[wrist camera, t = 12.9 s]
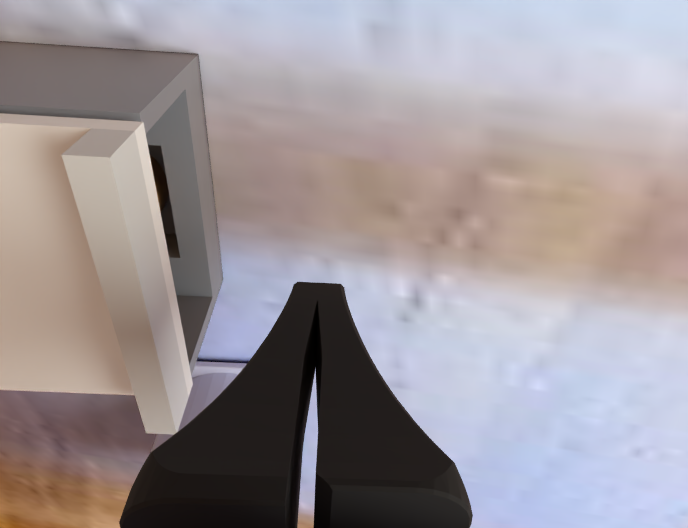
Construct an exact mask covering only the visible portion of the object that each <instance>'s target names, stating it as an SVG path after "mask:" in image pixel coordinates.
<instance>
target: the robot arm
mask: <svg viewBox="0 0 688 528" xmlns="http://www.w3.org/2000/svg"><path fill="white" fill-rule="evenodd" d="M315 367H316V389H317V413H318V446H317V463H316V484H315V509H314V528H470V525H471V522H472V516H473V515H472V510H471V505H470V502H469V498H468V495H467V492H466V489H465V487H464V484H463V481H462V479H461V476H460V474H459V472H458V470H457V467H456V465H455V463H454V462H453V461H452V460H451V459H450V458H449V457H448V456H447V455H446V454H445V453H444V452H443V451H442V450H441V449H440V448H439V447H438V446H437V445H436V444H435V443H434V442H433V441H432V440H431V439H430V438H429V437H428V436H427V435H426V433H425V432H424V431H423V430H422V429H421V428H420V427H419V426H418V425H417V423H416V422H415V421H414V420H413V418H412V417H411V416H410V415H409V413H408V412H407V411H406V410H405V408H404V407H403V406H402V405H401V403H400V402H399V401H398V400H397V398H396V397H395V395H394V394H393V393H392V391H391V390H390V388H389V387H388V385H387V384H386V382H385V381H384V379H383V378H382V376H381V375H380V373H379V371H378V370H377V368H376V366H375V364H374V363H373V361H372V359H371V357H370V355H369V353H368V352H367V350H366V348H365V346H364V344H363V342H362V340H361V337H360V335H359V333H358V330H357V328H356V326H355V324H354V321H353V318H352V316H351V313H350V310H349V307H348V304H347V300H346V296H345V291H344V287H343V286H342V285H341V284H332V283H309V282H297V283H296V284H294V286H293V289H292V292H291V294H290V297H289V299H288V301H287V303H286V305H285V307H284V309H283V311H282V313H281V314H280V316H279V318H278V319H277V321H276V323H275V325H274V326H273V328H272V330H271V331H270V333H269V334H268V336H267V337H266V339H265V340H264V342H263V343H262V344H261V346H260V347H259V349H258V350H257V352H256V353H255V354H254V356H253V357H252V358H251V359H250V361H249V362H248V363H224V362H201V361H196V364H195V367H194V370H193V373H192V376H191V377H192V382H193V385H192V388H191V392H190V395H189V398H188V401H187V404H186V407H185V410H184V414H183V417H182V420H181V423H180V426H179V429H178V432H177V433H176V434H157V435H156V438H155V441H154V444H153V446H152V449H151V452H150V455H149V456H148V458H147V460H146V461H145V463H144V465H143V466H142V468H141V470H140V472H139V474H138V476H137V478H136V480H135V482H134V484H133V486H132V488H131V491H130V493H129V496H128V499H127V502H126V505H125V507H124V510H123V513H122V516H121V519H120V522H119V523H120V528H297V523H298V508H299V493H300V479H301V465H302V451H303V442H304V434H305V428H306V422H307V416H308V410H309V404H310V397H311V391H312V385H313V379H314V373H315Z"/></svg>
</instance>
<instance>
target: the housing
mask: <svg viewBox="0 0 688 528" xmlns="http://www.w3.org/2000/svg"><path fill="white" fill-rule="evenodd" d="M0 113H4V114H20V115H37V116H54V117H71V118H87V119H104V120H121V121H138V122H143V123H144V128H145V133H146V139H147V144H148V149H149V154H150V155H151V156H152V157H153V158H154V159H155V160H156V161H157V162H158V163H159V164H160V166H161V167H162V169H163V171H164V173H165V175H166V178H167V184H168V189H169V196H168V200H167V203H166V205H165V206H164V208H163V210H162V211H161V218H162V223H163V229H164V234H165V239H166V244H167V250H168V255H169V260H170V266H171V271H172V276H173V281H174V287H175V292H176V297H177V303H178V308H179V313H180V319H181V324H182V329H183V334H184V340H185V345H186V350H187V356H188V361H189V366H190V371H191V376H192V373H193V370H194V367H195V364H196V361H197V358H198V355H199V352H200V349H201V346H202V343H203V339H204V336H205V333H206V330H207V327H208V324H209V321H210V318H211V315H212V312H213V309H214V306H215V303H216V300H217V297H218V294H219V291H220V288H221V285H222V281H223V272H222V263H221V254H220V245H219V236H218V227H217V218H216V209H215V200H214V191H213V182H212V173H211V164H210V155H209V146H208V137H207V128H206V119H205V110H204V101H203V92H202V83H201V74H200V65H199V56H198V54H189V53H174V52H158V51H143V50H127V49H112V48H97V47H81V46H66V45H50V44H35V43H19V42H4V41H0Z"/></svg>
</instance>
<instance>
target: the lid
mask: <svg viewBox="0 0 688 528" xmlns="http://www.w3.org/2000/svg"><path fill="white" fill-rule="evenodd" d="M192 385H193V382H192V377H191V371H190V366H189V361H188V356H187V350H186V345H185V340H184V334H183V329H182V324H181V319H180V313H179V308H178V303H177V297H176V292H175V287H174V281H173V276H172V271H171V266H170V260H169V255H168V250H167V244H166V239H165V234H164V229H163V223H162V218H161V213H160V207H159V202H158V197H157V192H156V186H155V181H154V176H153V170H152V165H151V160H150V154H149V149H148V144H147V139H146V133H145V128H144V123H143V122H138V121H121V120H104V119H87V118H71V117H54V116H37V115H20V114H4V113H0V390H16V391H40V392H65V393H90V394H114V395H135V398H136V402H137V405H138V408H139V412H140V415H141V418H142V421H143V425H144V428H145V431H146V433H149V434H176V433H177V432H178V429H179V426H180V423H181V420H182V417H183V414H184V410H185V407H186V404H187V401H188V398H189V395H190V392H191V388H192Z"/></svg>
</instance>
